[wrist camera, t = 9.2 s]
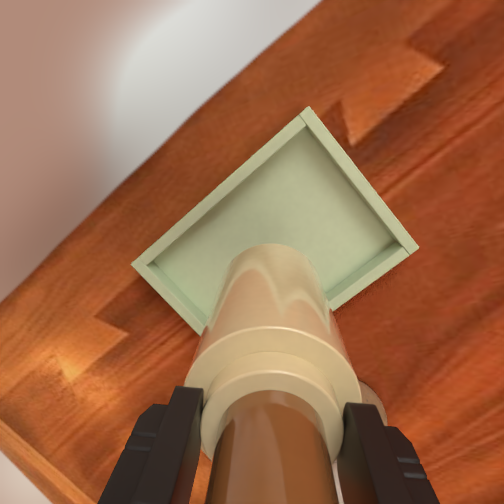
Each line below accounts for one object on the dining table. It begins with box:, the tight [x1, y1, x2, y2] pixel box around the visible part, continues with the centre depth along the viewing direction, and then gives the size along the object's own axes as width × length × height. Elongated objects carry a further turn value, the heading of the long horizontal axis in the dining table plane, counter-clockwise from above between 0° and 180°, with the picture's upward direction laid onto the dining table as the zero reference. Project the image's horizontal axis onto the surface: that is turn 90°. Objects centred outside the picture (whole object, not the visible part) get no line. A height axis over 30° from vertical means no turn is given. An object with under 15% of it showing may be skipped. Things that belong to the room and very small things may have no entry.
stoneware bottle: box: [184, 243, 362, 504], centre depth 13 cm, size 5×5×14 cm
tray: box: [131, 106, 419, 337], centre depth 27 cm, size 16×12×2 cm
